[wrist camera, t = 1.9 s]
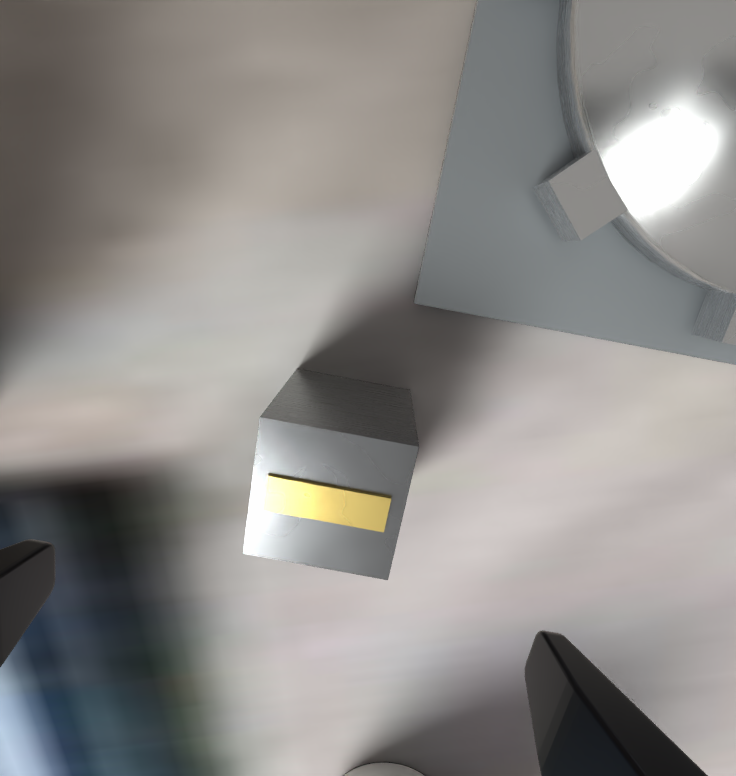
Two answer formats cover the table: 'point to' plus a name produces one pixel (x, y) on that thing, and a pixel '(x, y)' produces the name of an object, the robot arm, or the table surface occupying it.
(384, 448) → the link block
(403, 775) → the cup
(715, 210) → the sprocket
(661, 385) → the table surface
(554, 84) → the base plate
